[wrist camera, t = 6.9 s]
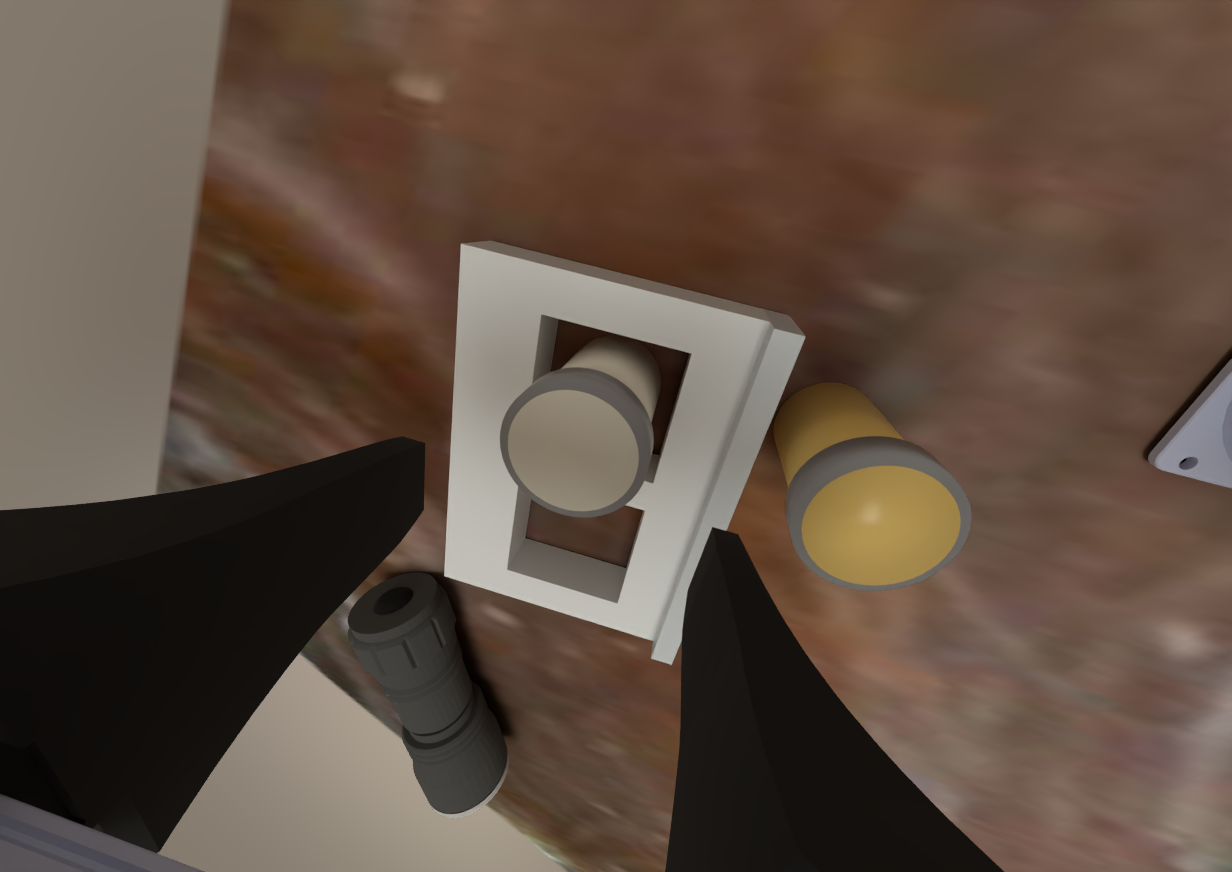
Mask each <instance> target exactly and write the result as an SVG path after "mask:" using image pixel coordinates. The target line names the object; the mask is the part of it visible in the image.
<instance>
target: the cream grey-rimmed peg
mask: <svg viewBox="0 0 1232 872" xmlns="http://www.w3.org/2000/svg"><path fill="white" fill-rule="evenodd" d="M660 390H661V374H660V369H659V366H658V364H657V362H656V360H655V358H654V357H653V355H652V354H651V353H650V352H649V350H648V349H647V348H645V347H644V346H643V345H642V344H640V343H639V342H637V341H635V340H633V339H631V338H628V337H625V336H620V335H606V336H601V337H598V338H596V339H594V340H592V341H590V342H588V343H587V344H586V345H585V346H583V347H582V348H581V349H580V350H579V351H578V352H577V353H576V354H575V355H574V356H573V357H572V358H571V359H570V360H569V361H568V362H567V363H566V364H565V365H564V366H563V367H562V368H561V369H559V370H555V371H552V372H550V373H548V374H546V375H543V376H542V377H540V378H539V379H537V380H536V381H535V382H534V383H533V384H532V385H530V386H529V387H528V388H527V389H526V390H525V391H524V392H523V393H522V394H521V395H520V396H518V397H517V398H516V399H515V400H514V402H513V403H512V404H511V405H510V407H509V409H508V410H507V412H506V414H505V416H504V419H503V421H502V425H501V430H500V449H501V454H502V458H503V461H504V464H505V466H506V468H507V470H508V472H509V474H510V476H511V477H512V479H513V481H514V482H515V483H516V484H517V486H518V487H519V488H520V489H521V490H522V491H523V492H524V493H525V494H526V495H527V496H528V497H530V498H531V499H532V500H533V501H535V502H536V503H538V504H539V505H541V506H543V507H545V508H547V509H549V510H551V511H554V512H556V513H559V514H563V515H567V516H572V517H596V516H601V515H605V514H608V513H611V512H613V511H616V510H618V509H620V508H621V507H623V506H624V505H626V504H627V503H628V502H629V501H630V500H632V499H633V498H634V496H635V495H636V494H637V493H638V491H639V490H640V488H641V487H642V485H643V483H644V480H645V478H646V475H647V471H648V467H649V463H650V459H651V455H652V451H653V443H654V439H653V429H652V424H651V422H652V418H653V415H654V412H655V408H656V405H657V401H658V398H659V394H660Z"/></svg>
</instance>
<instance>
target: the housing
mask: <svg viewBox="0 0 1232 872" xmlns="http://www.w3.org/2000/svg"><path fill="white" fill-rule="evenodd" d="M559 319H561V320H565V321H569V322H573V323H576V324H580V325H584V326H588V327H592V328H596V329H599V330H603V331H607V332H611V333H615V334H618V335H622V336H626V337H630V338H634V339H638V340H641V341H645V342H649V343H653V344H657V345H661V346H664V347H668V348H672V349H676V350H680V351H683V352H687V353H689V357H688V360H687V363H686V367H685V370H684V374H683V377H682V380H681V384H680V387H679V391H678V394H677V397H676V401H675V404H674V408H673V411H672V414H671V418H670V421H669V424H668V428H667V431H666V435H665V438H664V441H663V445H662V448H661V452H660V455H656V454H652V455H651V459H650V463H649V467H648V471H647V475H646V478H645V480H644V483H643V485H642V487H641V488H640V490H639V491H638V493H637V494H636V495H635V496H634V498H633V499H632V500H630V501H629V502H628V503H627V504H626V505H627V506H631V507H634V508H637V509H641V510H643V513H642V516H641V519H640V523H639V526H638V530H637V533H636V536H635V540H634V543H633V547H632V550H631V553H630V557H629V560H628V564H627V567H626V568H624V567H621V566H617V565H614V564H611V563H607V562H604V561H601V560H597V559H594V558H591V557H587V556H584V555H581V554H577V553H574V552H571V551H567V550H564V549H561V548H557V547H554V546H551V545H547V544H544V543H541V542H537V541H534V540H531V539H527V538H525V537H526V531H527V524H528V518H529V511H530V505H531V498H530V497H528V496H527V495H526V494H525V493H524V492H523V491H522V490H521V489H520V488H519V487H518V486H517V484H516V483H515V482H514V481H513V479H512V477H511V476H510V474H509V472H508V470H507V468H506V466H505V464H504V461H503V458H502V454H501V449H500V430H501V425H502V421H503V419H504V416H505V414H506V412H507V410H508V409H509V407H510V405H511V404H512V403H513V402H514V400H515V399H516V398H517V397H518V396H520V395H521V394H522V393H523V392H524V391H525V390H526V389H527V388H528V387H529V386H530V385H532V384H533V383H534V382H535V381H536V380H537V379H539V378H540V377H542V376H543V375H546V374H548V373H550V372H551V367H552V361H553V354H554V348H555V341H556V335H557V328H558V322H559ZM805 337H806V336H805V335H804V334H803V332H802V331H801V330H800V329H799V327H798V326H797V325H796V324H795V322H794V321H793V320H792V319H791V317H790V316H789V315H786V314H782V313H778V312H774V311H770V310H766V309H762V308H758V307H754V306H750V305H746V304H742V303H738V302H734V301H730V300H726V299H722V298H718V297H714V296H710V295H706V294H702V293H698V292H694V291H690V290H686V289H682V288H678V287H674V286H670V285H666V284H662V283H658V282H654V281H650V280H646V279H642V278H638V277H634V276H630V275H626V274H622V273H618V272H615V271H611V270H607V269H603V268H599V267H595V266H591V265H587V264H583V263H579V262H575V261H571V260H567V259H563V258H559V257H555V256H551V255H547V254H543V253H539V252H535V251H531V250H527V249H523V248H519V247H515V246H511V245H507V244H503V243H499V242H495V241H482V242H473V243H463V244H461V255H460V274H459V294H458V314H457V334H456V354H455V373H454V393H453V413H452V433H451V453H450V472H449V492H448V512H447V532H446V552H445V572H444V576H445V577H449V578H452V579H455V580H458V581H462V582H465V583H468V584H471V585H474V586H478V587H481V588H484V589H487V590H491V591H494V592H497V593H500V594H503V595H507V596H510V597H513V598H516V599H520V600H523V601H526V602H529V603H533V604H536V605H539V606H542V607H545V608H549V609H552V610H555V611H558V612H562V613H565V614H568V615H571V616H574V617H578V618H581V619H584V620H587V621H591V622H594V623H597V624H600V625H603V626H607V627H610V628H613V629H616V630H620V631H623V632H626V633H629V634H632V635H636V636H639V637H642V638H645V639H649V640H652V641H653V647H652V655H651V658H652V659H655V660H658V661H661V662H664V663H668V664H671V665H672V662H673V660H674V657H675V655H676V653H677V650H678V648H679V645H680V643H681V640H682V628H683V620H684V612H685V605H686V598H687V591H688V588H689V585H690V583H691V580H692V578H693V575H694V572H695V570H696V567H697V565H698V562H699V560H700V557H701V555H702V552H703V549H704V547H705V544H706V542H707V539H708V537H709V534H710V531H711V529H712V527H714V528H718V529H721V530H725V531H726V530H727V528H728V525H729V523H730V521H731V518H732V516H733V513H734V511H735V508H736V506H737V503H738V501H739V499H740V496H741V494H742V491H743V489H744V486H745V484H746V481H747V479H748V477H749V474H750V472H751V469H752V467H753V464H754V462H755V459H756V457H757V455H758V452H759V450H760V447H761V445H762V442H763V440H764V437H765V435H766V433H767V430H768V428H769V425H770V423H771V420H772V418H773V415H774V413H775V411H776V408H777V406H778V403H779V401H780V398H781V396H782V393H783V391H784V389H785V386H786V384H787V381H788V379H789V376H790V374H791V371H792V369H793V367H794V364H795V362H796V359H797V357H798V354H799V352H800V349H801V347H802V345H803V342H804V340H805Z"/></svg>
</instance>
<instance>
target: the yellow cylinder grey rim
mask: <svg viewBox="0 0 1232 872" xmlns="http://www.w3.org/2000/svg"><path fill="white" fill-rule="evenodd" d="M773 434H774V440H775V443H776V447H777V450H778V454H779V457H780V461H781V464H782V468H783V471H784V475H785V479H786V482H787V486H788V490H787V493H786V498H785V513H786V519H787V523H788V527H789V531H790V535H791V539H792V542H793V546H794V548H795V550H796V552H797V555H798V556H799V558H800V559H801V560H802V562H803V563H804V564H805V565H806V566H807V567H808V568H809V569H810V570H811V571H812V572H814V573H815V574H816V575H818V576H819V577H821V578H823V579H825V580H827V581H829V582H831V583H833V584H836V585H839V586H842V587H846V588H850V589H856V590H864V591H882V590H891V589H897V588H901V587H905V586H909V585H912V584H915V583H918V582H920V581H922V580H924V579H927V578H928V577H930V576H932V575H934V574H935V573H937V572H939V571H940V570H941V569H943V568H944V567H945V566H947V565H948V564H949V563H950V562H951V561H952V560H953V559H954V558H955V557H956V555H957V554H958V553H959V552H960V550H961V549H962V547H963V546H964V544H965V542H966V540H967V537H968V535H969V532H970V528H971V520H972V514H971V506H970V503H969V500H968V497H967V495H966V493H965V492H964V490H963V488H962V487H961V486H960V484H959V483H958V482H957V481H956V480H955V479H954V477H953V476H952V475H951V474H950V473H949V472H948V471H947V470H946V469H945V468H944V467H943V466H942V465H941V463H940V462H939V461H938V460H937V459H936V458H935V457H933V456H932V455H931V454H930V453H929V452H927V451H926V450H924V449H923V448H921V447H919V446H917V445H915V444H913V443H911V442H908V441H905V440H904V439H903V438H902V437H901V435H900V434H899V433H898V432H897V431H896V430H895V428H894V427H893V426H892V425H891V424H890V423H889V422H888V420H887V419H886V418H885V417H884V416H883V415H882V413H881V412H880V411H879V410H878V409H877V408H876V407H875V405H874V404H873V403H872V402H871V401H870V400H869V398H868V397H867V396H866V395H865V394H863V393H862V392H861V391H859V390H858V389H856V388H854V387H852V386H849V385H846V384H842V383H836V382H824V383H818V384H814V385H810V386H808V387H805V388H803V389H801V390H799V391H797V392H796V393H795V394H793V395H792V396H791V397H790V398H788V399H787V400H786V401H785V403H784V404H783V405H782V406H781V408H780V409H779V411H778V413H777V415H776V418H775V421H774V427H773Z"/></svg>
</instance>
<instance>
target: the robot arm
mask: <svg viewBox="0 0 1232 872" xmlns="http://www.w3.org/2000/svg"><path fill="white" fill-rule="evenodd" d="M1185 458H1187V460H1186V461H1184V462H1183V463H1181V464H1179V463H1180V462H1181V461H1182V460H1183V459H1185ZM1148 461H1149V463H1150V464H1151V465H1153V466H1154V467H1156V468H1158V469H1160V470H1162V471H1166V472H1170V473H1174V474H1177V475H1181V476H1185V477H1189V478H1193V479H1197V480H1201V481H1204V482H1208V483H1212V484H1216V485H1220V486H1224V487H1227V488H1231V489H1232V359H1231V360H1230V361H1229V362H1228V363H1227V364H1226V366H1225V367H1224V368H1223V369H1222V370H1221V371H1220V372H1219V374H1218V375H1217V376H1216V377H1215V378H1214V379H1213V381H1212V382H1211V383H1210V384H1209V385H1208V386H1207V387H1206V389H1205V390H1204V391H1203V392H1202V393H1201V394H1200V396H1199V397H1198V398H1197V399H1196V400H1195V401H1194V402H1193V404H1192V405H1191V406H1190V407H1189V408H1188V409H1187V411H1186V412H1185V413H1184V414H1183V415H1182V416H1181V418H1180V419H1179V420H1178V421H1177V422H1176V423H1175V424H1174V426H1173V427H1172V428H1171V429H1170V430H1169V431H1168V433H1167V434H1166V435H1165V436H1164V437H1163V438H1162V439H1161V441H1160V442H1159V443H1158V444H1157V445H1156V446H1155V448H1154V449H1153V450H1152V451H1151V453H1150V454H1149V456H1148ZM424 472H425V443H423V442H419V441H416V440H413V439H409V438H406V437H397V438H393V439H388V440H385V441H381V442H377V443H374V444H370V445H367V446H364V447H360V448H357V449H353V450H350V451H347V452H343V453H340V454H337V455H333V456H330V457H326V458H323V459H320V460H316V461H313V462H309V463H305V464H301V465H298V466H294V467H290V468H286V469H282V470H279V471H275V472H271V473H267V474H263V475H259V476H255V477H251V478H246V479H242V480H237V481H233V482H228V483H223V484H218V485H212V486H207V487H202V488H197V489H191V490H185V491H179V492H172V493H165V494H158V495H151V496H144V497H137V498H130V499H123V500H115V501H107V502H97V503H87V504H77V505H66V506H55V507H42V508H30V509H14V510H0V872H204V871H201V870H199V869H196V868H193V867H191V866H188V865H186V864H183V863H180V862H178V861H175V860H173V859H170V858H167V857H165V856H162V855H159V854H157V853H158V852H159V851H160V850H161V849H162V847H163V845H164V844H165V842H166V841H167V839H168V838H169V836H170V834H171V833H172V831H173V830H174V828H175V826H176V825H177V823H178V822H179V821H180V819H181V818H182V816H183V814H184V813H185V812H186V810H187V809H188V807H189V805H190V804H191V803H192V801H193V799H194V798H195V797H196V795H197V793H198V792H199V791H200V789H201V787H202V786H203V785H204V783H205V781H206V780H207V778H208V777H209V775H210V774H211V772H212V771H213V769H214V768H215V767H216V765H217V764H218V762H219V761H220V759H221V758H222V757H223V755H224V754H225V752H226V751H227V749H228V748H229V747H230V745H231V744H232V743H233V741H234V740H235V738H236V737H237V735H238V734H239V733H240V731H241V730H242V728H243V727H244V725H245V724H246V722H247V721H248V720H249V719H250V717H251V716H252V714H253V713H254V712H255V710H256V709H257V707H258V706H259V705H260V703H261V702H262V701H263V700H264V698H265V697H266V696H267V694H268V693H269V691H270V690H271V689H272V688H273V686H274V685H275V684H276V682H277V681H278V680H279V678H280V677H281V676H282V674H283V673H284V672H285V670H286V669H287V668H288V666H289V665H290V664H291V663H292V661H293V660H294V659H295V658H296V656H297V655H298V654H299V653H300V651H301V650H302V649H303V648H304V646H305V645H306V644H307V643H308V641H309V640H310V639H311V637H312V636H313V635H314V634H315V632H316V631H317V630H318V629H319V628H320V627H321V626H322V624H323V623H324V622H325V621H326V620H327V619H328V618H329V617H330V615H331V614H332V613H333V612H334V611H335V610H336V609H337V608H338V607H339V606H340V605H341V604H342V603H343V602H344V601H345V600H346V599H347V598H348V597H349V596H350V594H351V593H352V592H353V591H354V590H355V589H356V588H357V587H358V586H359V585H360V584H361V583H362V582H363V581H364V580H365V579H366V578H367V577H368V576H369V575H370V574H371V573H372V572H373V571H374V570H375V569H376V568H377V566H378V565H379V564H380V563H381V562H382V561H383V560H384V559H385V558H386V557H387V556H388V555H389V554H390V553H391V552H392V551H393V550H394V548H395V547H396V546H397V545H398V544H399V543H400V542H401V541H402V539H403V538H404V537H405V535H406V534H407V533H408V531H409V530H410V529H411V527H412V526H413V524H414V523H415V522H416V520H417V519H418V517H419V516H420V514H421V513H422V511H423V510H424ZM665 872H1004V871H1003V870H1002V869H1001V868H1000V867H999V866H998V865H996V864H995V863H994V862H993V861H992V860H991V859H990V858H989V857H988V856H987V855H986V854H985V853H984V852H983V851H982V850H981V849H980V848H979V847H977V846H976V845H975V844H974V843H973V842H972V841H971V840H970V839H969V838H968V837H967V836H966V835H965V834H964V833H963V832H962V831H961V830H960V829H958V828H957V827H956V826H955V825H954V824H953V823H952V822H951V821H950V820H949V819H948V818H947V817H946V816H945V815H944V814H943V813H942V812H941V811H940V810H939V809H938V808H937V807H936V806H935V805H934V804H933V803H932V802H931V801H930V800H929V799H928V798H927V797H926V796H925V795H924V794H923V793H922V792H921V790H920V789H919V788H918V787H917V786H916V785H915V784H914V783H913V782H912V781H911V780H910V779H909V778H908V777H907V776H906V775H905V774H904V773H903V772H902V771H901V770H900V769H899V767H898V766H897V765H896V764H895V763H894V762H893V761H892V760H891V759H890V758H889V756H888V755H887V754H886V753H885V752H884V751H883V750H882V749H881V748H880V747H879V745H878V744H877V743H876V742H875V741H874V740H873V738H872V737H871V736H870V735H869V734H868V733H867V731H866V730H865V729H864V728H863V727H862V726H861V724H860V723H859V722H858V721H857V720H856V719H855V717H854V716H853V715H852V714H851V713H850V711H849V710H848V709H847V708H846V707H845V705H844V704H843V703H842V702H841V700H840V699H839V698H838V697H837V695H836V694H835V693H834V691H833V690H832V689H831V687H830V686H829V685H828V683H827V682H826V681H825V679H824V678H823V677H822V675H821V674H820V673H819V671H818V670H817V669H816V667H815V666H814V665H813V663H812V662H811V660H810V659H809V658H808V656H807V655H806V653H805V652H804V650H803V649H802V647H801V646H800V644H799V643H798V641H797V640H796V638H795V637H794V635H793V633H792V632H791V630H790V629H789V627H788V626H787V624H786V623H785V621H784V619H783V618H782V616H781V614H780V613H779V611H778V609H777V607H776V605H775V604H774V602H773V600H772V598H771V597H770V595H769V593H768V591H767V590H766V588H765V586H764V584H763V582H762V580H761V578H760V576H759V574H758V572H757V571H756V569H755V567H754V565H753V563H752V561H751V559H750V557H749V555H748V553H747V551H746V549H745V547H744V545H743V543H742V541H741V539H740V537H739V535H738V534H735V533H732V532H728V531H725V530H721V529H718V528H714V527H712V529H711V531H710V534H709V537H708V539H707V542H706V544H705V547H704V549H703V552H702V555H701V557H700V560H699V562H698V565H697V567H696V570H695V572H694V575H693V578H692V580H691V583H690V585H689V588H688V591H687V598H686V605H685V612H684V620H683V628H682V664H681V729H680V748H679V758H678V768H677V777H676V786H675V796H674V805H673V813H672V821H671V830H670V838H669V847H668V855H667V863H666V871H665Z"/></svg>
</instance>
